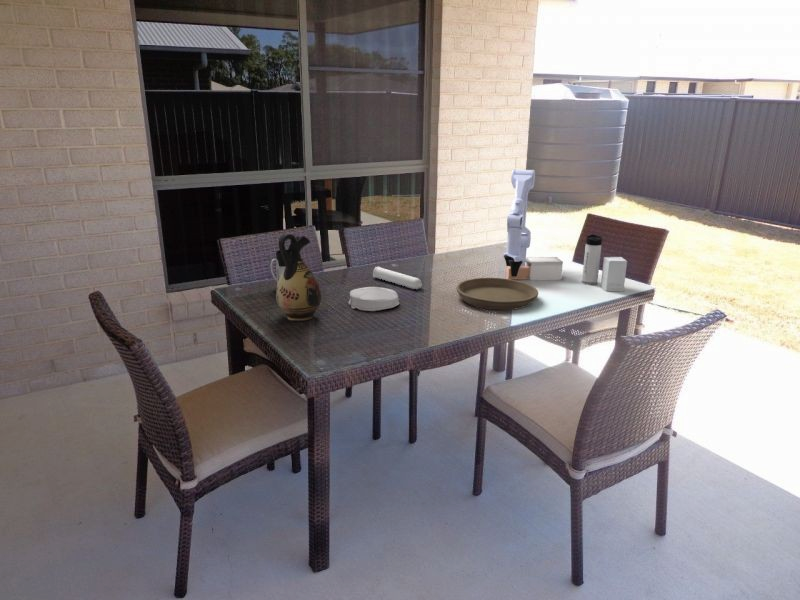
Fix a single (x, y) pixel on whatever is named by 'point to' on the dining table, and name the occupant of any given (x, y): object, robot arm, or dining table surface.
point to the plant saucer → (497, 293)
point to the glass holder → (279, 265)
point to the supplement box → (613, 273)
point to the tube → (397, 278)
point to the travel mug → (592, 259)
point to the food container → (373, 298)
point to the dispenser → (544, 268)
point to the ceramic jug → (297, 282)
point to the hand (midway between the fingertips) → (511, 273)
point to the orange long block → (519, 272)
